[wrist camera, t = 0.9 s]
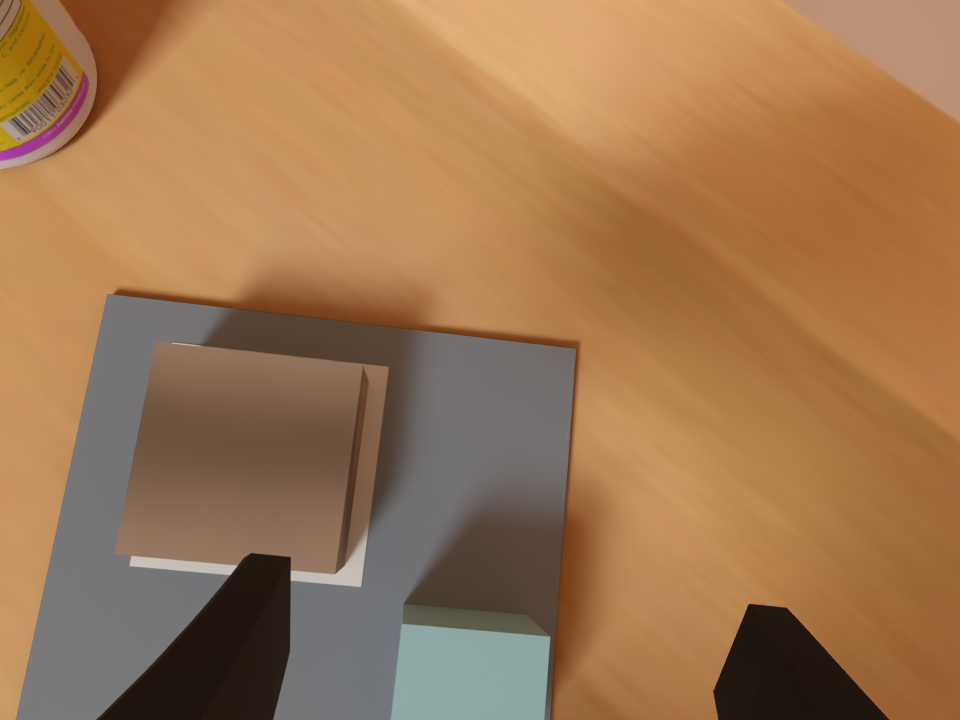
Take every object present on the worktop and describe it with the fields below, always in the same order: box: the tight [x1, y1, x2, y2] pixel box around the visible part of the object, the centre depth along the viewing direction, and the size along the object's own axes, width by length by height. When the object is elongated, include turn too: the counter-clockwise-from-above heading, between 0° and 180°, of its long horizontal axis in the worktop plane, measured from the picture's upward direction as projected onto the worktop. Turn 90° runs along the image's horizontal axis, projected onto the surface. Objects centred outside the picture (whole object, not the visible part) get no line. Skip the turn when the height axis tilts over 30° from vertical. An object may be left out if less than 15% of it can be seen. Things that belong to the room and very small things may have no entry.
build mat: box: [16, 294, 576, 720], centre depth 23 cm, size 14×16×1 cm
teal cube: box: [390, 604, 550, 720], centre depth 21 cm, size 4×4×4 cm
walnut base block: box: [114, 342, 369, 574], centre depth 22 cm, size 6×6×3 cm
